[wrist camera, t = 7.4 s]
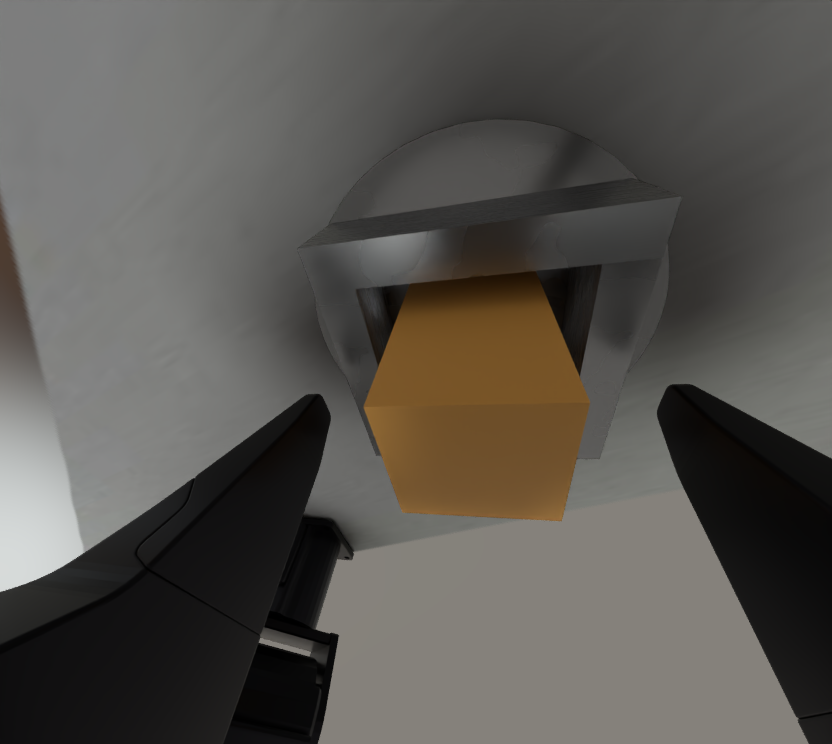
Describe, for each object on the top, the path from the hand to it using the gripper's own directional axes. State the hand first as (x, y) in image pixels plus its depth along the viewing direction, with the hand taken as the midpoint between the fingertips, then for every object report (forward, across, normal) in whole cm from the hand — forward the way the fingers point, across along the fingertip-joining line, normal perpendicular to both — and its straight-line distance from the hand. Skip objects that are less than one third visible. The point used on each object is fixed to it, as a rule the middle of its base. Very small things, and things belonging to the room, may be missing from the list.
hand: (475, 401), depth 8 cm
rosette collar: (+5, 0, 0) cm, 5 cm away
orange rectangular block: (+4, 0, 0) cm, 4 cm away
